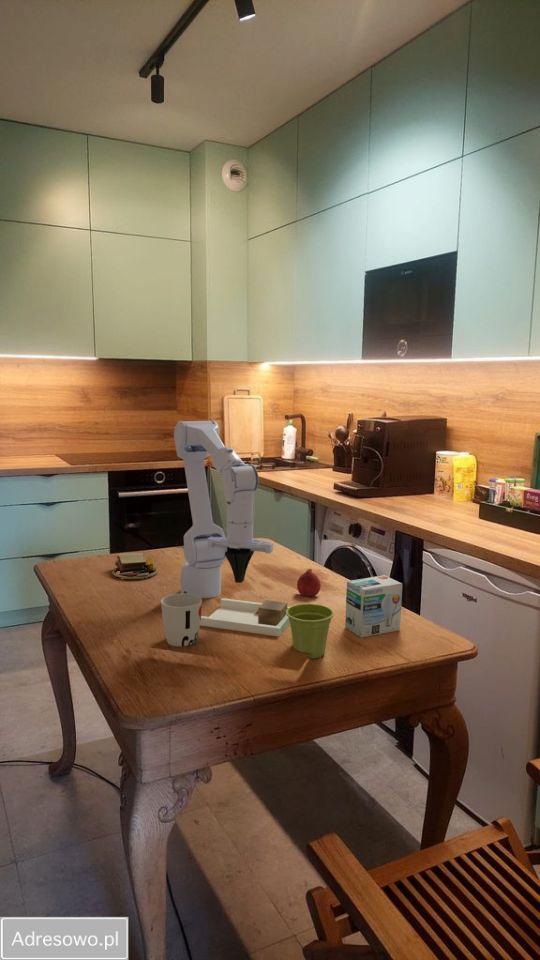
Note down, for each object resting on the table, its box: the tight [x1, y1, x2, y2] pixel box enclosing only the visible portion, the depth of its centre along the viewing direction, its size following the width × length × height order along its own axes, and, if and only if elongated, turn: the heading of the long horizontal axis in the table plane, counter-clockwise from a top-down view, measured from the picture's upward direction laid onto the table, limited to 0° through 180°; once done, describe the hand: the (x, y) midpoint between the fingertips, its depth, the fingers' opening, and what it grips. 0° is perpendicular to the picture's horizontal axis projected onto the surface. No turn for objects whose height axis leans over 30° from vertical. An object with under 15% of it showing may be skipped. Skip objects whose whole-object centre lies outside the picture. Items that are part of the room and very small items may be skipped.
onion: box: [296, 567, 322, 598], centre depth 158 cm, size 6×6×8 cm
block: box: [257, 599, 288, 626], centre depth 139 cm, size 5×5×4 cm
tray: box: [200, 597, 291, 637], centre depth 141 cm, size 18×13×3 cm
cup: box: [160, 592, 203, 653], centre depth 129 cm, size 8×8×10 cm
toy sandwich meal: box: [111, 552, 159, 580], centre depth 178 cm, size 12×14×5 cm
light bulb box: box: [344, 574, 403, 638], centre depth 140 cm, size 11×7×11 cm, turn 117°
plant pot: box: [286, 603, 335, 660], centre depth 127 cm, size 9×9×9 cm
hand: (239, 581), depth 141 cm, fingers closed
